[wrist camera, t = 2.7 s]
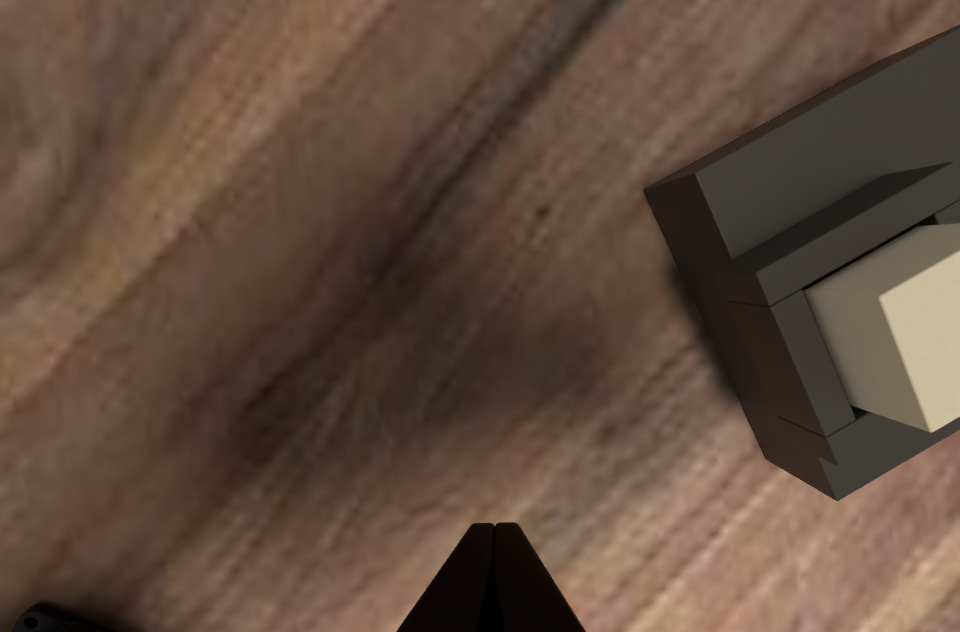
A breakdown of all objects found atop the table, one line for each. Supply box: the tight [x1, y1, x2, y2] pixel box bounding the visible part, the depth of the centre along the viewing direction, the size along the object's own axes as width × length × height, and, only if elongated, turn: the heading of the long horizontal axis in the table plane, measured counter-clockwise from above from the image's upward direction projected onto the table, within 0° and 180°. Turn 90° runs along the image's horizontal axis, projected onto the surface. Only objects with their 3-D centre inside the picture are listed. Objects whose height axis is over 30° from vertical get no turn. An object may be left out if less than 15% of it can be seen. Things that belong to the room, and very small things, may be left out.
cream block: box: [804, 223, 960, 432], centre depth 14 cm, size 4×4×3 cm
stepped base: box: [644, 25, 960, 501], centre depth 18 cm, size 13×14×6 cm
